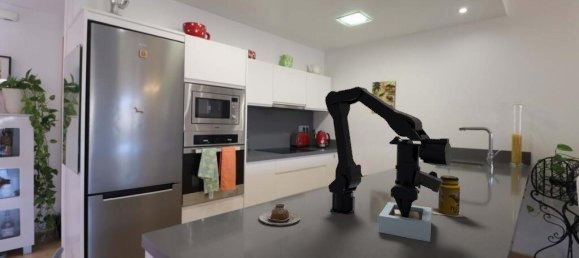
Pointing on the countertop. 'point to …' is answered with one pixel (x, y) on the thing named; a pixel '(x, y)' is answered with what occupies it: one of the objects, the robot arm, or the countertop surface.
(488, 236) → the countertop surface
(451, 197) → the condiment
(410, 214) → the block
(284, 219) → the pastry
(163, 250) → the countertop surface
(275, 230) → the countertop surface
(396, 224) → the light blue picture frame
